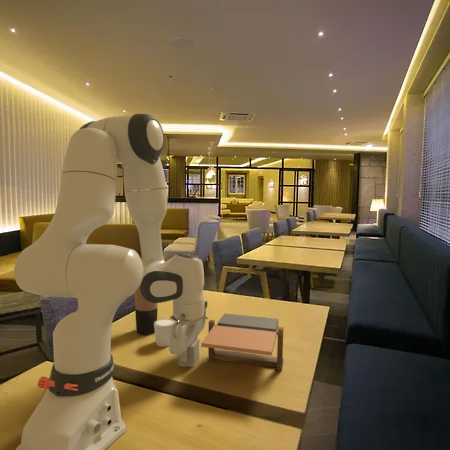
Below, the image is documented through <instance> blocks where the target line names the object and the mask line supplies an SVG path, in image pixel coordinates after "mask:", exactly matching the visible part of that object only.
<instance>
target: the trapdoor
mask: <svg viewBox="0 0 450 450" xmlns="http://www.w3.org/2000/svg"><path fill="white" fill-rule="evenodd" d="M215 325H220V326H215ZM215 325H214V326H213V328H212V329H211V331H210V332H209V331H208V332H207V335H206V336H205V338H204V339H203V340H202V341H201V342H200V343H201V344H200V347H201V348H207V349H208V348H214V349H217V350H225V351H233V352H241V353H248V354H256V355H264V356H272V355H273V351H274V347H275V344H276V341H277V340H276V339H277V337H278V335H277V332H278V327H279V318H275V317H274V318H273V317H264V316H262V317H261V316H254V315H243V314H234V313H233V314H232V313H223V315H222V316H221V317H220V319H219V320H218V321H217V323H216V324H215ZM224 326H229V327H224ZM233 327H238V328H233ZM242 328H247V329H242ZM251 329H256V330H251ZM260 330H265V331H260ZM269 331H274V332H269ZM272 357H273V356H272Z"/></svg>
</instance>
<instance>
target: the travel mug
mask: <svg viewBox="0 0 450 450" xmlns="http://www.w3.org/2000/svg"><path fill="white" fill-rule="evenodd" d="M134 303H135V304H134V308H135V310H134V311H135V326H136V327H135V331H136V334H138V335H140V336H149V335H153V334H155V330H154V322H155V321H157V320H158V304H159V303H152V302H149V301H147V300H146V299H145V298H144V297H143V296H142V294H141V292H140V286H139V288H138V289H137V290H136V291H135V293H134Z"/></svg>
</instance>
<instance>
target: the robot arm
mask: <svg viewBox="0 0 450 450" xmlns="http://www.w3.org/2000/svg"><path fill="white" fill-rule="evenodd" d="M164 145H165V134H164V129H163V127H162V125H161V123H160V122H159V121H158V119H156V118H155V116H153V115H151V114H148V113H135V114H129V115H127V114H125V115H119V116H115V115H113V116H109V117H105V118H102V119H99V120H96V121H95V120H91V121H89V122H87V123H85V124H83V125H82V126H80V127H79V129H78V130H76V131H75V132H73V134H72V135H71V137H70V139H69V142H68V145H67V148H66V151H65V155H64V158H63V163H62V164H63V165H62V169H61V170H62V171H61V177H60V185H59V192H58V198H57V203H56V207H55V211H54V214H53V216H52V219H51V220H50V222H49V224H48V225H47V227H46V229H45V230H44V232H43V233H42V234H41V235H40V236H39V238H38V239H37V240H35V241H34V242H33V243H32V244H30V245H28V246H27V247H26V248H24V249H23V250H22V251H21V252H20V253H19V255H18V257H17V258H16V260H15V263H14V266H13V267H14V268H13V275H14V279H15V282H16V284H17V286H18V287H19V289H20V290H22V291H23V292H25V293H26V292H27V293H30V294H33V295H38V296H40V297H49V298H70V299H71V298H73V299H77V302H78V303H77V304H78V306H77V311H73V312H72V313H70V314H68V315H67V316H65V317H63V318H61V320H59V322H58V323H57V324H56V326H55V327H54V330H53V332H52V345H53V347H52V349H53V364H52V367H51V370H50V375H49V377H46V376H40V377H39V379H38V381H37V387H38V388H39V389H45V390H46V392H45V393H44V395H43V396H42V398H41V400H40V401H39V403H38V404H37V406H36V408H35V409H34V410H33V412H32V414H31V416H29V418H28V420H27V421H26V423H25V424H24V427H23V429H22V434H21V440H20V441H21V442H20V444H19V445H18V446H17V447H16V448H15V450H106V449H107V448H109V447H110V446H111V445H112V444H114V442H115V441H116V440H118V438H120V437H121V436H122V435H123V434H124V433H125V432H126V430H127V424H126V423H125V421H124V419H122V416H121V415H122V414H121V405H120V404H121V403H120V397H119V390H118V388H117V386H116V384H115V382H114V378H113V375H114V367H115V364H114V363H115V362H114V357H113V355H112V353H111V350H112V349H111V347H112V346H111V344H112V326H113V321H114V317H115V314H116V312H117V311H118V310H119V308H120V306H121V305H122V304H123V303H124V302H125V301H126V300H127V299H128V298H130V297H131V296H132V295H134V294H135V291H136V290H137V289H138V288H139V286H140V292H141V294H142V296H143V297H144V298H145V299H146V300H147V301H149V302H152V303H157V304H161V303H166V302H170V301H172V312H173V313H172V316H174V317H175V318H176V319H175V320H174V321H175V324H174V325H173V326H172V328H171V332H170V346H169V352H170V354H171V355H174V356H175V355H176V356H178V355H181V361H184V362H186V361H187V360H188V359H189V354H188V353H187V350H188V347H189V346H190V345H191V343H192V342H193V341H194V340H198V336H199V335H200V334H201V332H202V331H203V329H204V328H205V326H206V320H207V319H206V317H207V308H208V304H209V303H208V300H206V299H205V297H204V292H203V290H204V286H205V272H204V271H205V270H204V262H203V260H202V259H201V257H200V256H198V255H196V254H194V253H189V252H179V253H176V254H174V255H173V256H172V257H171V258H169V259H167V260H165V257H164V254H163V253H164V251H163V245H162V235H161V233H162V232H161V231H162V230H161V229H162V224H163V221H164V218H166V217H165V216H166V215H167V212H168V188H167V183H166V181H167V180H166V175H165V171H164V167H163V164H162V161H161V158H160V156H161V154H162V151H163V149H164ZM118 164H120V165H121V167H122V169H123V173H122V174H123V188H124V189H123V190H124V197H125V202H126V206H127V209H128V214H129V215H130V218H131V220H132V221H133V223H134V225H135V226H136V229H137V233H138V236H139V244H140V253H141V256H140V255H139V253H138V252H137V251H136V250H135V249H132V248H129V247H125V246H120V245H116V244H103V243H102V244H99V243H98V244H97V243H96V244H95V243H87V241H88V239H89V236H91V234H92V233H93V232H94V231H95V230H96V229H98V228H100V227H102V226H103V225H104V226H105V225H106V224H108V223H109V222H110V221H111V220H112V218H113V215H114V214H115V206H116V193H117V192H116V191H117V183H118V181H117V180H118Z"/></svg>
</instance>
